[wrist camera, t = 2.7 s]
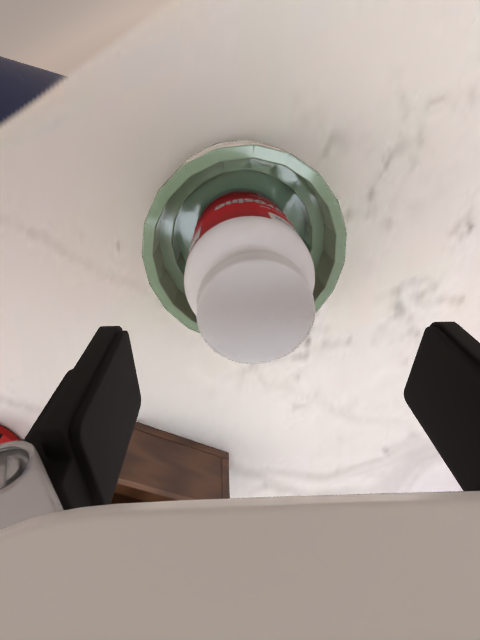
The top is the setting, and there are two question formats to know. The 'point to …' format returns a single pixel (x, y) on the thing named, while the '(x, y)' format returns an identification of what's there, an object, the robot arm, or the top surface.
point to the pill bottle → (249, 279)
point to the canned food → (7, 435)
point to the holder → (170, 469)
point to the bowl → (228, 174)
